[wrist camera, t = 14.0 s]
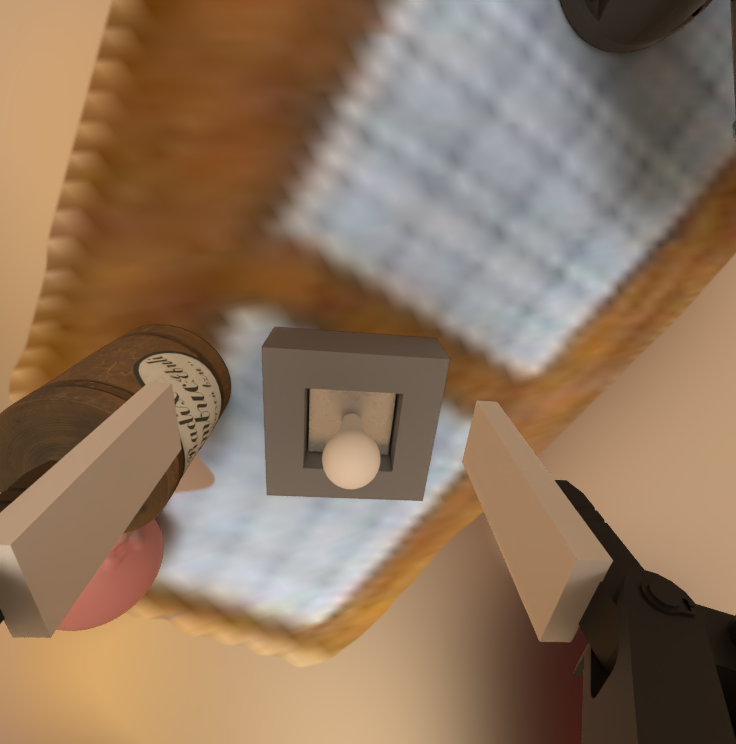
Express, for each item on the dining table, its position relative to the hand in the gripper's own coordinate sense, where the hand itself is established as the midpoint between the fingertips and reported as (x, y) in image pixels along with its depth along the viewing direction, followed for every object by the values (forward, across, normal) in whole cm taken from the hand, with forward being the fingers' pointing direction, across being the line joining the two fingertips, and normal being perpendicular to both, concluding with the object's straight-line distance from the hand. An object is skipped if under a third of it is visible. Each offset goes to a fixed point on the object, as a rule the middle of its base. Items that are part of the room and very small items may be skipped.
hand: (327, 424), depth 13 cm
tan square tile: (+31, +2, -17) cm, 35 cm away
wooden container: (+32, -21, -15) cm, 41 cm away
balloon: (+32, -29, -37) cm, 57 cm away
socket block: (+32, +2, -17) cm, 36 cm away
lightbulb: (+28, +2, -17) cm, 33 cm away
